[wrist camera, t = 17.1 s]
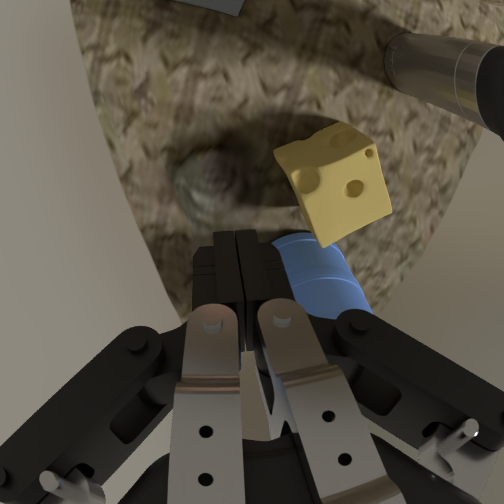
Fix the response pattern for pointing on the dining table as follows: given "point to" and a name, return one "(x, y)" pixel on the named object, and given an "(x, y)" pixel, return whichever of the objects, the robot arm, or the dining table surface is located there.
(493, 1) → the beer glass
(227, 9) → the mat
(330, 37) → the dining table surface
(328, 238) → the cheese
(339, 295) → the water jug
